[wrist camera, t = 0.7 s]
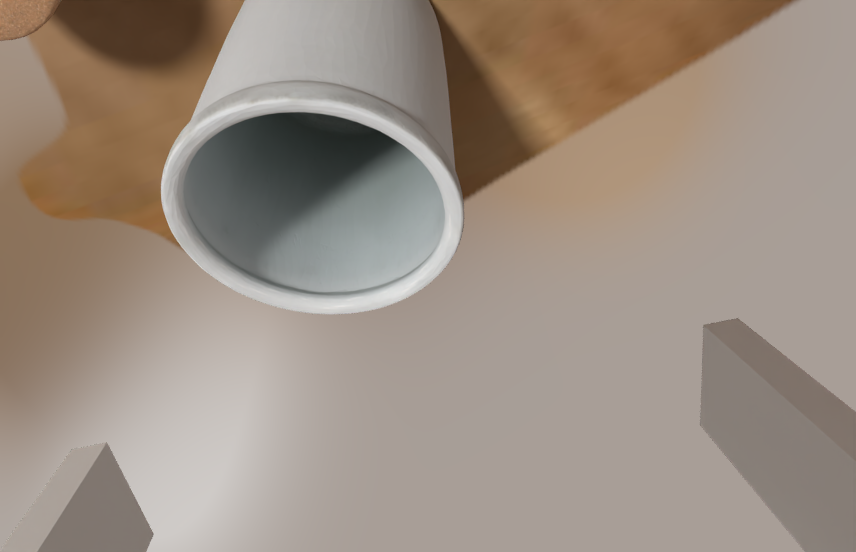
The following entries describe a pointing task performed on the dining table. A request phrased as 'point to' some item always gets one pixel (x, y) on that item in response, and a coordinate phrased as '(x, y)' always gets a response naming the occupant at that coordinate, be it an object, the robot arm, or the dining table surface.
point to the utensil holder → (321, 157)
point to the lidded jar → (24, 16)
